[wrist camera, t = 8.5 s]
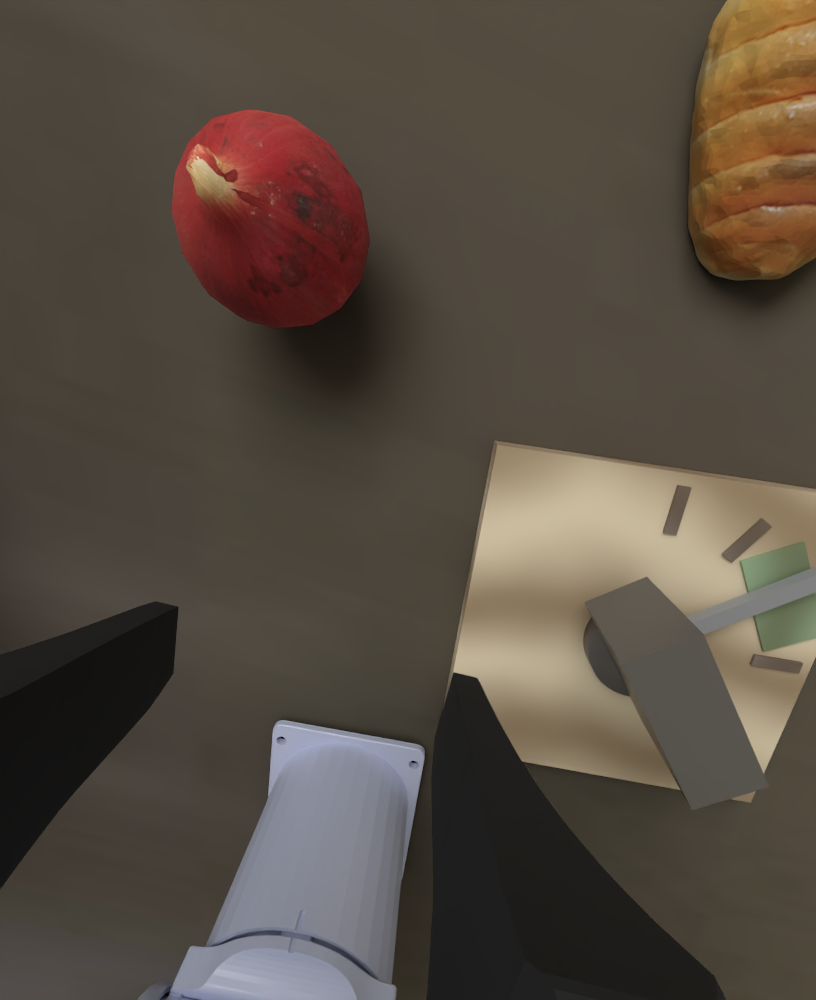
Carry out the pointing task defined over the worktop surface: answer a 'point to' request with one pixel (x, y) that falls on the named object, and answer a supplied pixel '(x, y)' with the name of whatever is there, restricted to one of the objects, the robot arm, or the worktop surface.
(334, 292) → the onion
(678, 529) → the board
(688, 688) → the dark angled piece
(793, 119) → the pastry
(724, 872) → the worktop surface
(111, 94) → the worktop surface
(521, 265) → the worktop surface
